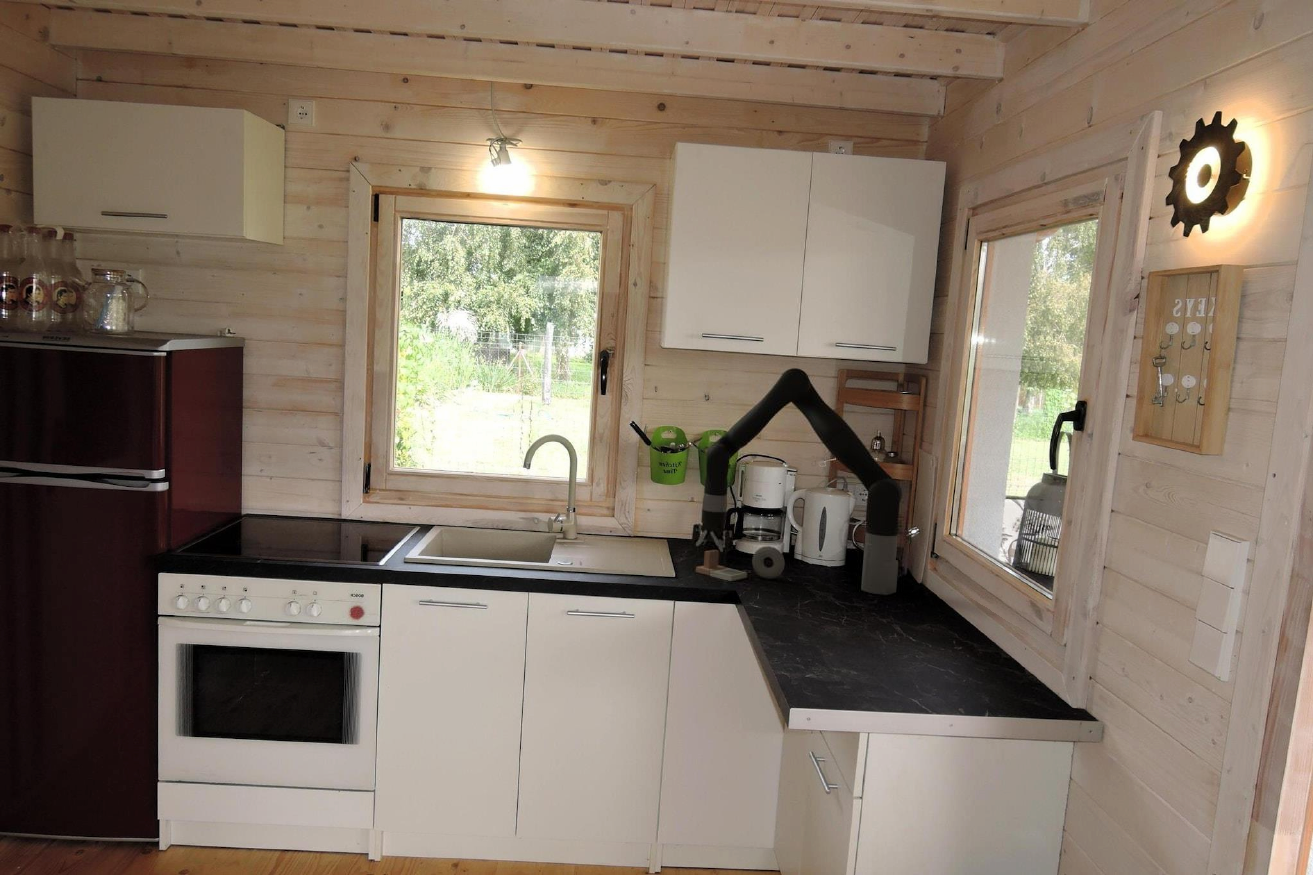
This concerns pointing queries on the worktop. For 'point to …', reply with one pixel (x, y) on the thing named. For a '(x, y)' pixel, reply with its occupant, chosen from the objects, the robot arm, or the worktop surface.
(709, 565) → the stub
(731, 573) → the control panel
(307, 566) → the worktop surface
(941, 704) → the worktop surface
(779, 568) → the donut
